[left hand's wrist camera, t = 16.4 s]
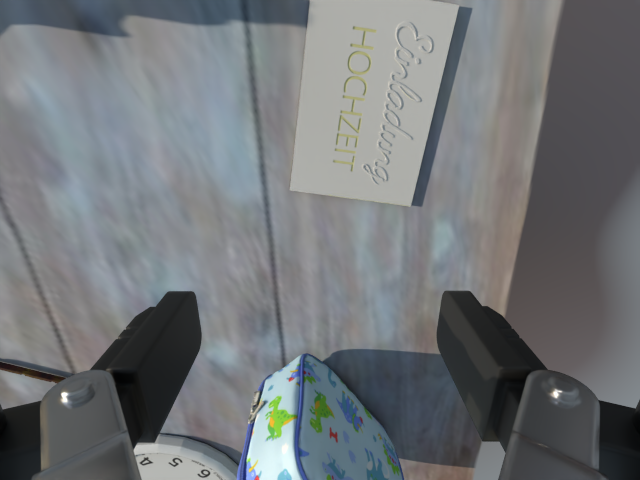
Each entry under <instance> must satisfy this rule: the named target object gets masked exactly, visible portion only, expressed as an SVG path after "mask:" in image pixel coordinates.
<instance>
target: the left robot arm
mask: <svg viewBox="0 0 640 480" xmlns="http://www.w3.org/2000/svg"><path fill="white" fill-rule="evenodd" d="M201 337H202V335H201V326H200V320H199V313H198V306H197V300H196V295H195V293H194V292H192V291H169V292H167V293H166V294H165V296H164V297H163V298H162V299H161V301H160V302H159V303H158V304H157V306H156V307H149V308H148V309H146V310H145V311H143V312H142V313H140V314H139V315H137V316H136V317H135V318H134V319H133V320H132V321H131V322H130V324H129V325H128V326H127V327H126V330H124V331H123V332H122V333H121V334H120V335H119V336H118V339H116V340H115V341H114V342H113V343H112V345H111V346H110V347H109V348H108V349H107V351H106V352H105V353H104V354H103V355H102V356H101V358H100V359H99V360H98V361H97V362H96V363H95V365H94V366H93V367H92V368H91V369H90V370H89V371H84V372H80V373H77V374H75V375H72V376H70V377H68V378H66V379H64V380H62V381H61V382H59V383H58V384H56V385H55V386H53V387H52V388H51V389H50V390H49V391H48V392H47V393H46V394H45V396H44V397H43V399H42V401H38V402H34V403H30V404H25V405H21V406H17V407H12V408H8V409H2V407H1V405H0V480H142V479H141V475H140V472H139V468H138V465H137V461H136V457H135V454H134V449H135V447H136V445H137V443H155V441H156V439H157V437H158V435H159V433H160V431H161V429H162V427H163V425H164V423H165V421H166V418H167V416H168V414H169V412H170V410H171V408H172V406H173V404H174V402H175V400H176V398H177V396H178V394H179V392H180V389H181V387H182V385H183V383H184V381H185V379H186V377H187V375H188V373H189V371H190V369H191V367H192V365H193V363H194V360H195V358H196V356H197V354H198V352H199V349H200V346H201ZM437 344H438V348H439V351H440V353H441V355H442V357H443V359H444V362H445V364H446V366H447V368H448V370H449V372H450V374H451V376H452V378H453V380H454V383H455V385H456V387H457V389H458V391H459V393H460V395H461V397H462V399H463V401H464V404H465V406H466V408H467V410H468V412H469V414H470V416H471V418H472V420H473V422H474V424H475V427H476V429H477V431H478V433H479V435H480V437H481V439H482V441H500V443H501V445H502V447H503V449H504V451H505V453H506V454H505V458H504V461H503V465H502V468H501V472H500V475H499V479H498V480H640V400H639V403H638V405H637V407H636V409H635V408H630V407H626V406H622V405H617V404H613V403H609V402H604V401H600V400H598V399H597V397H596V396H595V394H594V393H593V392H592V391H591V390H590V389H589V388H588V387H587V386H585V385H584V384H582V383H581V382H579V381H578V380H576V379H574V378H572V377H570V376H568V375H565V374H563V373H560V372H556V371H551V370H548V369H547V368H546V367H545V366H544V365H543V363H542V362H541V361H540V360H539V359H538V358H537V356H536V355H535V354H534V353H533V352H532V350H531V349H530V348H529V347H528V346H527V345H526V343H525V342H524V341H523V340H522V339H521V338H519V335H518V334H517V333H516V332H515V330H514V329H512V328H511V326H510V324H509V323H508V322H507V321H506V320H505V319H504V317H503V316H502V315H500V314H499V313H497V312H496V311H494V310H493V309H491V308H489V307H488V306H482V305H481V304H480V303H479V302H478V300H477V299H476V298H475V296H474V295H473V294H472V293H471V292H470V291H445V292H444V293H443V295H442V300H441V307H440V314H439V320H438V327H437Z"/></svg>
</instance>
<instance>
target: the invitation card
mask: <svg viewBox="0 0 640 480" xmlns="http://www.w3.org/2000/svg"><path fill="white" fill-rule="evenodd" d="M458 9H459V5H456V4H450V3H444V2H438V1H432V0H310V5H309V14H308V24H307V33H306V42H305V52H304V61H303V71H302V80H301V90H300V99H299V109H298V118H297V128H296V137H295V147H294V156H293V165H292V175H291V184H290V190H291V191H298V192H306V193H314V194H321V195H329V196H336V197H344V198H351V199H359V200H366V201H374V202H381V203H389V204H396V205H404V206H411V203H412V199H413V195H414V191H415V187H416V183H417V179H418V174H419V170H420V166H421V162H422V158H423V154H424V150H425V145H426V141H427V137H428V133H429V129H430V125H431V121H432V116H433V112H434V108H435V104H436V100H437V96H438V92H439V87H440V83H441V79H442V75H443V71H444V67H445V63H446V58H447V54H448V50H449V46H450V42H451V38H452V34H453V29H454V25H455V21H456V17H457V13H458Z"/></svg>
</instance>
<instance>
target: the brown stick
mask: <svg viewBox="0 0 640 480" xmlns="http://www.w3.org/2000/svg"><path fill="white" fill-rule="evenodd" d="M0 370H4V371H8V372H12V373H16V374H24V375H25V376H29V377H32V378H36V379H40V380H45V381H49V382H51V381H53V382H55V383H59V382H61V381H62V380H64V379H66V378H64V377H60V376H55V375H51V374H47V373H43V372H39V371H35V370H31V369H27V368H23V367H19V366H15V365H11V364H7V363H2V362H0Z"/></svg>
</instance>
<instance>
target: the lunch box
mask: <svg viewBox="0 0 640 480" xmlns="http://www.w3.org/2000/svg"><path fill="white" fill-rule="evenodd" d="M250 413H251V415H250V416H249V418H248V420H249V422H248V423H249V424H248V429H247V434H246V440H245V445H244V450H243V453H242V457H241V460H240V464H239V467H238V473H237V480H404V477H403V473H402V469H401V465H400V462H399V459H398V456H397V454H396V451H395V449H394V446H393V444H392V442H391V440H390V438H389V437H388V435H387V433H386V431H385V429H384V428H383V426H382V425H381V424H380V423H379V422H378V421H377V420H376V419H375V418H374V417H373V416H372V415H371V414H370V413H369V411H368V410H367V409H366V408H365V407H364V406H363V405H362V404H361V403H360V401H359V400H358V399H357V398H356V396H355V395H354V394H353V393H352V392H351V391H350V390H349V389H348V388H347V387H346V385H345V384H344V383H343V382H342V381H341V380H340V379H339V377H338V376H337V375H336V374H335V373H334V372H333V371H332V370H331V369H330V368H329V367H328V366H327V365H325V364H324V363H323V362H322V361H320V360H319V359H317V358H316V357H314V356H312V355H310V354H302V355H300V356H298V357H297V358H296V359H295V360H293V361H292V362H291V363H289V364H288V365H286V366H285V367H284V368H283V369H281V370H279V371H277V372H275V373H274V374H273V375H269V376H268V377H267V378H266V379H265V380H264V381H263V382H262V383H261V385H260V386H259V389H258V391H256V392H254V396H253V400H252V407H251V412H250Z"/></svg>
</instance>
